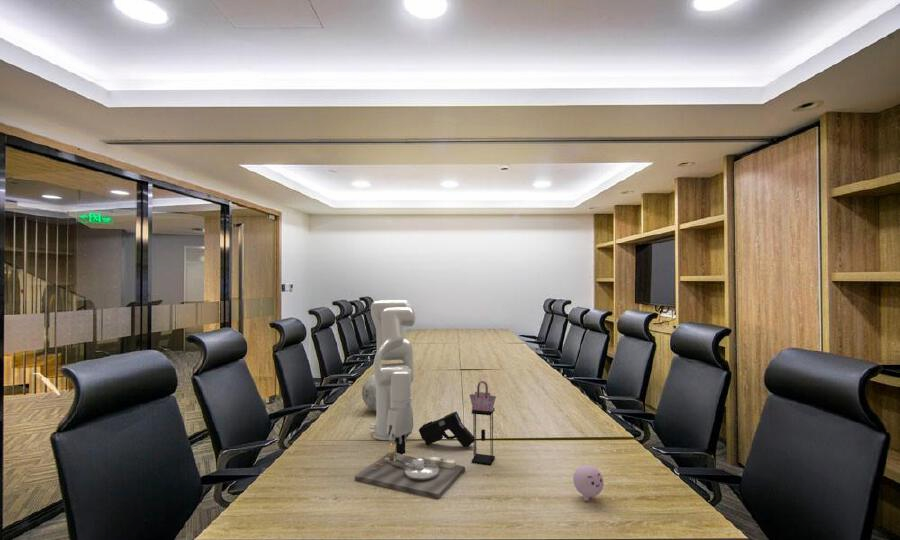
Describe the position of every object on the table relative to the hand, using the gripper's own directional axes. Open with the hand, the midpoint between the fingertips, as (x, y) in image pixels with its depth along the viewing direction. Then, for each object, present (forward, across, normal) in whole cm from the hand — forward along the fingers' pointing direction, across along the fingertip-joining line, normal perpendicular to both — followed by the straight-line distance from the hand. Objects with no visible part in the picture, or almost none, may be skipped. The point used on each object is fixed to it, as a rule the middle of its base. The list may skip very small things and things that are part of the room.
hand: (400, 452), depth 160 cm
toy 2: (+4, -18, +64) cm, 67 cm away
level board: (+4, +4, +9) cm, 11 cm away
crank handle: (+2, +3, +8) cm, 9 cm away
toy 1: (+5, -25, +2) cm, 26 cm away
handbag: (+4, -22, +22) cm, 32 cm away
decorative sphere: (+6, -41, -56) cm, 70 cm away
